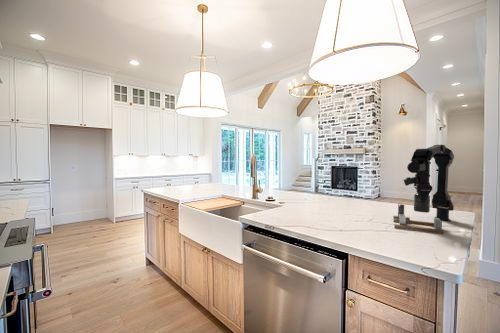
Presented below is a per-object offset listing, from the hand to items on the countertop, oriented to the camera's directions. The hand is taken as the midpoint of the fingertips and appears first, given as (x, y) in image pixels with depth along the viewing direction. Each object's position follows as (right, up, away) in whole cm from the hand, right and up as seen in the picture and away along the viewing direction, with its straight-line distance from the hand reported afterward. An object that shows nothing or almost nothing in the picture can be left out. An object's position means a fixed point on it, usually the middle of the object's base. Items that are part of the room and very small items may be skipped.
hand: (421, 201), depth 125 cm
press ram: (-6, -13, +8) cm, 16 cm away
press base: (-1, -13, +3) cm, 14 cm away
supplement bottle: (0, -5, 0) cm, 5 cm away
